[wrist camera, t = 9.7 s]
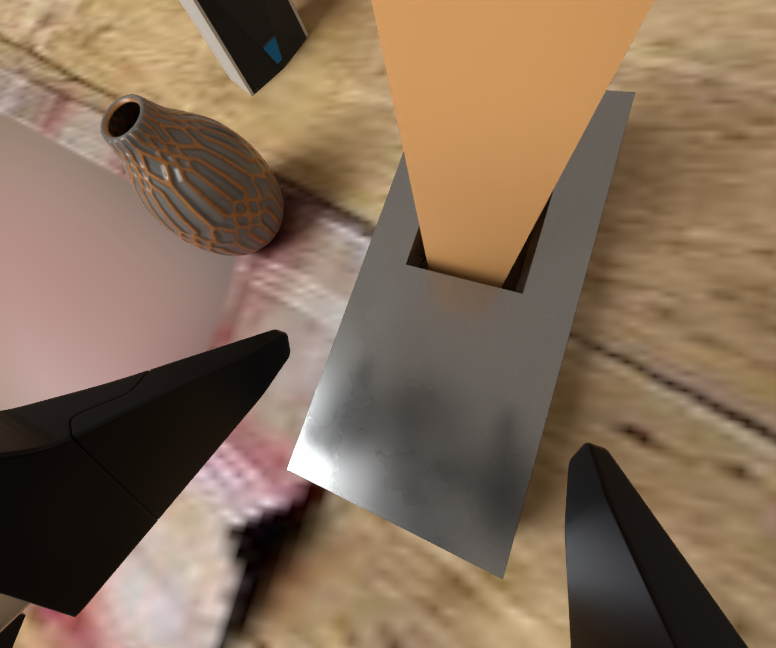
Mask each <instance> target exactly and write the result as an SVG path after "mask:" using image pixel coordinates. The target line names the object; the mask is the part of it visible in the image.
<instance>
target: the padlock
mask: <svg viewBox="0 0 776 648" xmlns="http://www.w3.org/2000/svg"><path fill="white" fill-rule="evenodd" d="M179 1H180V2H181V4H182V5H183V7H184V8H185V10H186V11H187V13H188V15H189V16H190V18H191V19H192V21H193V22H194V24H195V25H196V27H197V28H198V30H199V31H200V33H201V35H202V36H203V38H204V39H205V41H206V42H207V44H208V45H209V47H210V48H211V50H212V52H213V53H214V55H215V56H216V58H217V59H218V61H219V62H220V64H221V65H222V67H223V69H224V70H225V72H226V73H227V75H228V76H229V78H230V79H231V80H232V81H233V82H235V83H236V84H237V85H238V86H240V87H241V88H242V89H243V90H245V91H246V92H247V93H248V94H250V95H251V96H253V95H254V94H255V93H256V92H257V91H258V90H259V89H261V88H262V87H263V86H264V85H265V84H266V83H267V82H269V81H270V80H271V79H272V78H273V77H274V76H275V75H277V74H278V73H279V72H280V71H281V70H282V69H283V68H284V67H285V66H286V65H287V63H288V62H289V61H290V59H291V58H292V57H293V55H294V54H295V53H296V51H297V50H298V49H299V47H300V46H301V45H302V43H303V42H304V41H305V40H306V38H307V37H308V36H309V35H308V33H307V31H306V29H305V26H304V24H303V22H302V20H301V18H300V16H299V14H298V12H297V10H296V8H295V6H294V4H293V2H292V0H179Z"/></svg>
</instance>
